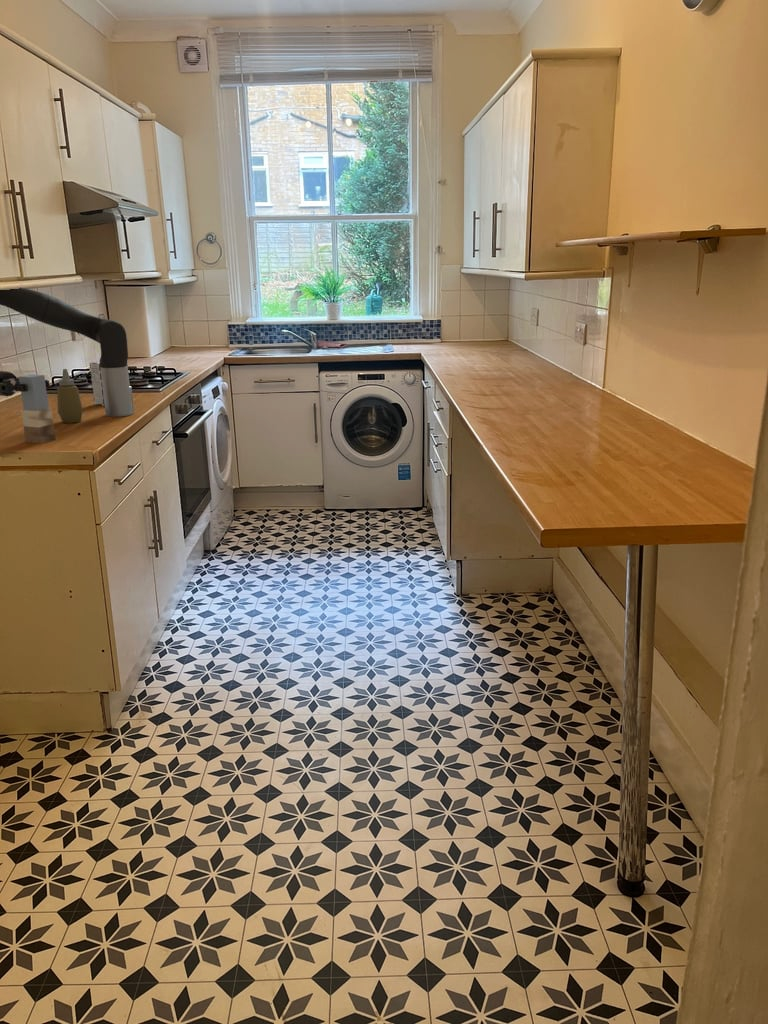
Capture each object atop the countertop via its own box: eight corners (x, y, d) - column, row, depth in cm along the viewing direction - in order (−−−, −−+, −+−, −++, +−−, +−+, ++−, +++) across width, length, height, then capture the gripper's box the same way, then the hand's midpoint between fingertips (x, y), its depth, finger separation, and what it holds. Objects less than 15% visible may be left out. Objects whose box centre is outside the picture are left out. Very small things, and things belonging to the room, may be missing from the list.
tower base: (40, 438, 242) (38, 422, 240) (55, 439, 240) (53, 423, 238) (25, 442, 237) (23, 426, 235) (40, 443, 234) (38, 427, 233)
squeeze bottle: (55, 421, 267) (48, 369, 261) (78, 418, 272) (71, 367, 266) (65, 424, 261) (57, 371, 256) (88, 421, 267) (81, 369, 261)
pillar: (36, 406, 238) (31, 374, 235) (48, 407, 236) (44, 375, 233) (23, 409, 234) (18, 376, 231) (36, 410, 232) (31, 377, 229)
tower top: (38, 422, 240) (36, 406, 239) (53, 423, 238) (51, 407, 237) (23, 426, 235) (20, 409, 233) (38, 427, 233) (35, 411, 231)
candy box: (122, 399, 309) (117, 358, 304) (132, 400, 306) (127, 358, 301) (93, 404, 298) (88, 361, 293) (104, 406, 295) (98, 362, 290)
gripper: (-24, 374, 230) (17, 376, 225) (14, 368, 243) (53, 370, 237) (-20, 398, 233) (21, 402, 227) (17, 391, 245) (57, 394, 240)
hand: (37, 385), depth 232 cm, fingers open, 8 cm apart
